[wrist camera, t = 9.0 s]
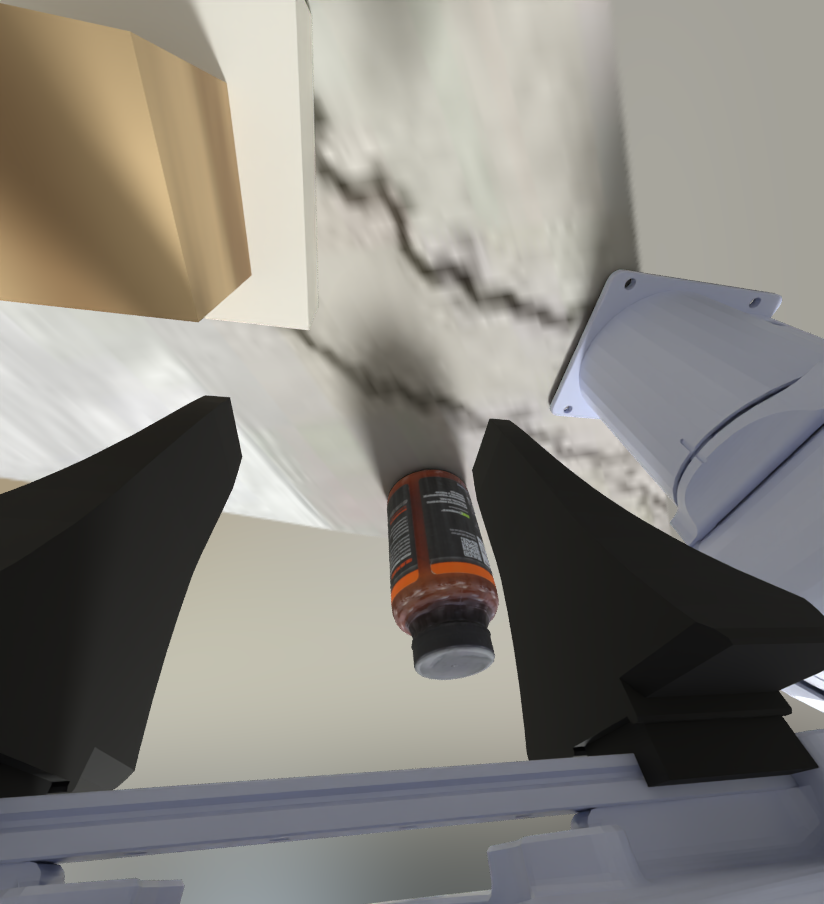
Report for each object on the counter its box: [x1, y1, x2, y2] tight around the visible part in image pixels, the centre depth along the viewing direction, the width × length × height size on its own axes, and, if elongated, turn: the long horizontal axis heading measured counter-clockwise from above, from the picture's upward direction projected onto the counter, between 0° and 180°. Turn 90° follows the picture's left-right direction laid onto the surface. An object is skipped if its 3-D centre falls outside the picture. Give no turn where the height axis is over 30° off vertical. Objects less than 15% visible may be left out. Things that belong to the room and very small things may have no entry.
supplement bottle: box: [387, 469, 499, 680], centre depth 21 cm, size 6×6×11 cm
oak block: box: [0, 3, 252, 322], centre depth 9 cm, size 5×5×5 cm
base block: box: [0, 0, 318, 330], centre depth 12 cm, size 9×9×3 cm
